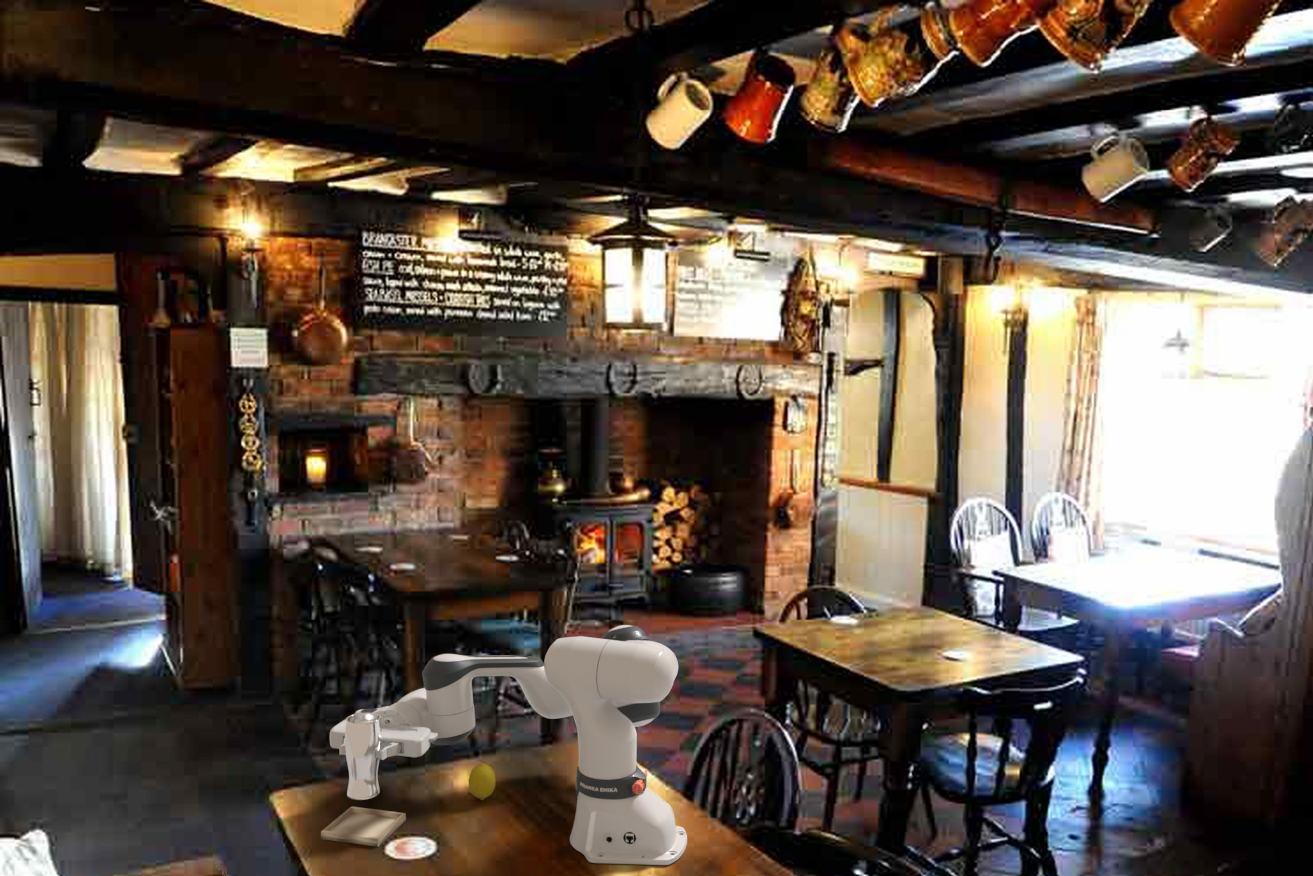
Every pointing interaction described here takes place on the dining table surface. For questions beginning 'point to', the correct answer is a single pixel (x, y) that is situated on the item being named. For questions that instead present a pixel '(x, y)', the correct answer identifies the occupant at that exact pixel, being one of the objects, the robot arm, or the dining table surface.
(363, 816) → the tray
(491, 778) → the lemon
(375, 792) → the beer glass
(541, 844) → the dining table surface
